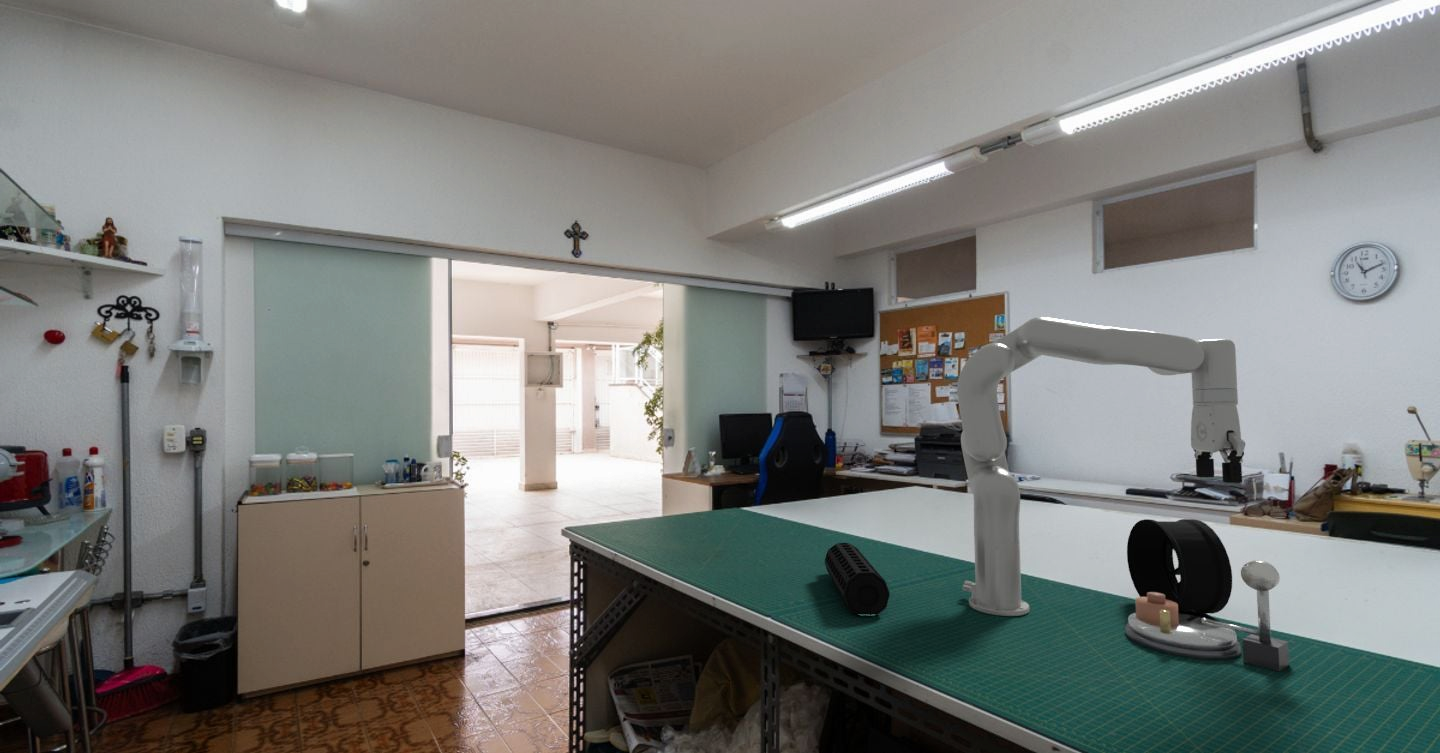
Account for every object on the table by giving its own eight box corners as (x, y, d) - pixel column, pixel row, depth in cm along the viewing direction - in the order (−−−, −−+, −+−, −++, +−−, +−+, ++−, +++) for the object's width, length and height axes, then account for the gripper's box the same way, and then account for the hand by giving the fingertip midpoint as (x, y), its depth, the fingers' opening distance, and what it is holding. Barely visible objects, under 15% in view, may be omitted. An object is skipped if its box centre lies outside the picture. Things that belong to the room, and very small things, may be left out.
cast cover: (1129, 618, 128) (1128, 593, 128) (1145, 611, 132) (1144, 587, 132) (1169, 628, 122) (1168, 601, 122) (1184, 621, 126) (1183, 595, 126)
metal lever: (1196, 649, 119) (1192, 552, 120) (1207, 643, 122) (1203, 548, 122) (1279, 671, 109) (1274, 565, 110) (1289, 664, 112) (1284, 561, 113)
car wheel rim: (1234, 627, 131) (1230, 528, 132) (1182, 626, 131) (1178, 528, 132) (1173, 597, 151) (1169, 512, 151) (1128, 596, 151) (1125, 512, 152)
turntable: (1112, 629, 126) (1111, 601, 126) (1151, 613, 135) (1150, 586, 135) (1216, 657, 111) (1214, 625, 112) (1251, 637, 121) (1250, 607, 121)
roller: (816, 566, 177) (827, 532, 177) (850, 577, 176) (861, 542, 177) (839, 611, 139) (852, 566, 139) (882, 625, 138) (896, 580, 139)
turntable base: (1108, 637, 126) (1108, 630, 126) (1150, 619, 136) (1149, 613, 136) (1218, 667, 111) (1218, 660, 111) (1256, 645, 121) (1255, 638, 121)
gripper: (1173, 398, 143) (1177, 475, 142) (1218, 397, 126) (1222, 484, 125) (1211, 398, 142) (1215, 475, 141) (1261, 397, 125) (1265, 485, 124)
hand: (1218, 479), depth 133 cm, fingers open, 9 cm apart
